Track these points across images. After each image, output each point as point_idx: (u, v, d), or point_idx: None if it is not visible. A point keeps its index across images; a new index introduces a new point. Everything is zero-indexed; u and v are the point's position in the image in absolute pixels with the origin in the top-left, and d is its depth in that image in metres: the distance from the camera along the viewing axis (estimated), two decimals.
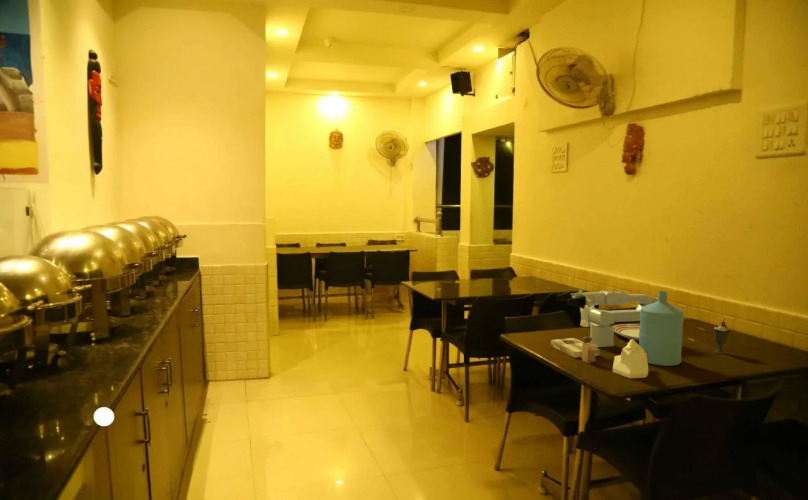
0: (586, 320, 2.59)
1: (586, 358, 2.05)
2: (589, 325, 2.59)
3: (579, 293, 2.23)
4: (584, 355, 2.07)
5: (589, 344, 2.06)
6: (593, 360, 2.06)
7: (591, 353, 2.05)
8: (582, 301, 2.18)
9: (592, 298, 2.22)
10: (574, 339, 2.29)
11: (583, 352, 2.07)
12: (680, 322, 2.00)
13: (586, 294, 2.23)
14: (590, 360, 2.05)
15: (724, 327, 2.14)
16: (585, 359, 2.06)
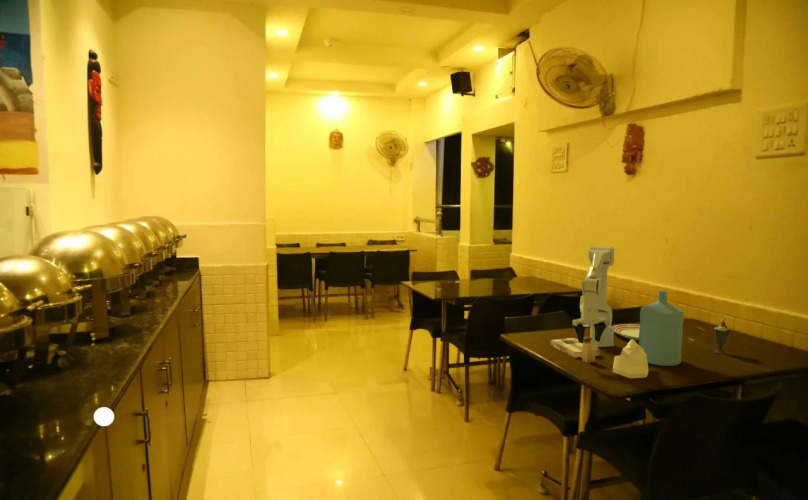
0: None
1: (586, 358, 2.05)
2: (589, 325, 2.59)
3: (593, 322, 2.03)
4: (584, 355, 2.07)
5: (589, 344, 2.06)
6: (593, 360, 2.06)
7: (591, 353, 2.05)
8: None
9: None
10: (574, 339, 2.29)
11: (583, 352, 2.07)
12: (680, 322, 2.00)
13: (597, 316, 2.03)
14: (590, 360, 2.05)
15: (724, 327, 2.14)
16: (585, 359, 2.06)
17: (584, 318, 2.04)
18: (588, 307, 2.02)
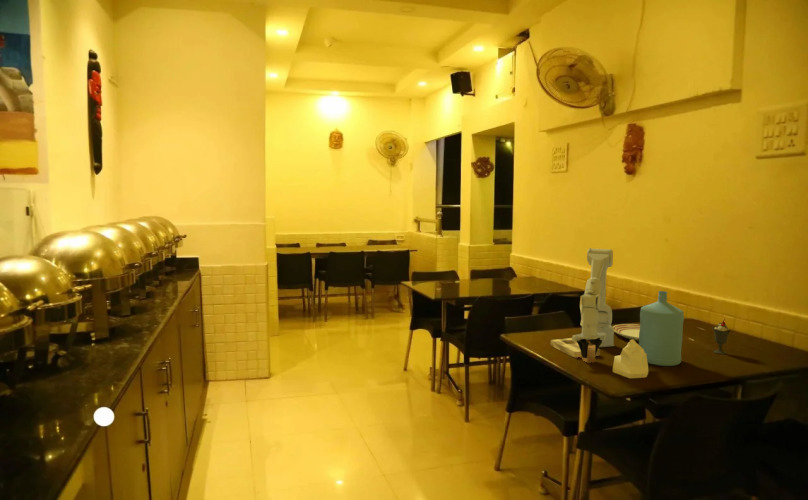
0: None
1: (586, 358, 2.05)
2: None
3: None
4: None
5: (589, 344, 2.06)
6: (593, 360, 2.06)
7: (591, 353, 2.05)
8: None
9: None
10: None
11: None
12: (680, 322, 2.00)
13: (596, 331, 2.04)
14: (590, 360, 2.05)
15: (724, 327, 2.14)
16: (585, 359, 2.06)
17: (583, 334, 2.05)
18: (587, 323, 2.03)
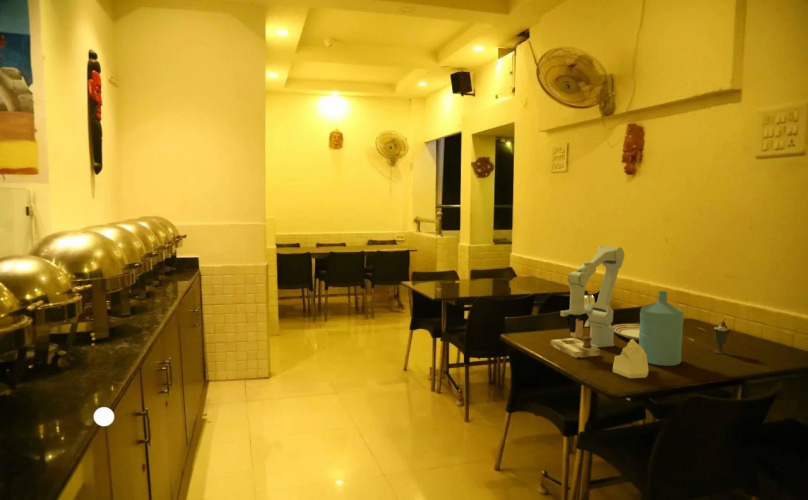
0: None
1: (574, 333, 2.16)
2: (589, 325, 2.59)
3: (580, 313, 2.15)
4: None
5: (577, 320, 2.17)
6: (581, 335, 2.17)
7: (579, 328, 2.16)
8: None
9: None
10: (574, 339, 2.29)
11: None
12: (680, 322, 2.00)
13: (583, 307, 2.15)
14: (578, 335, 2.16)
15: (724, 327, 2.14)
16: (574, 334, 2.17)
17: (571, 309, 2.16)
18: (572, 298, 2.15)
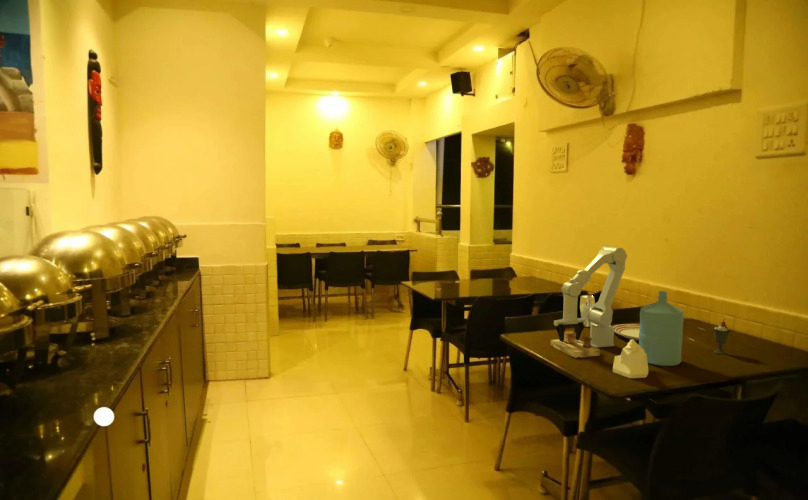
0: (586, 320, 2.59)
1: None
2: (589, 325, 2.59)
3: None
4: (566, 342, 2.24)
5: (570, 332, 2.24)
6: None
7: (572, 340, 2.23)
8: None
9: None
10: None
11: (565, 339, 2.25)
12: (680, 322, 2.00)
13: (576, 317, 2.22)
14: None
15: (724, 327, 2.14)
16: None
17: (564, 319, 2.23)
18: (564, 308, 2.23)
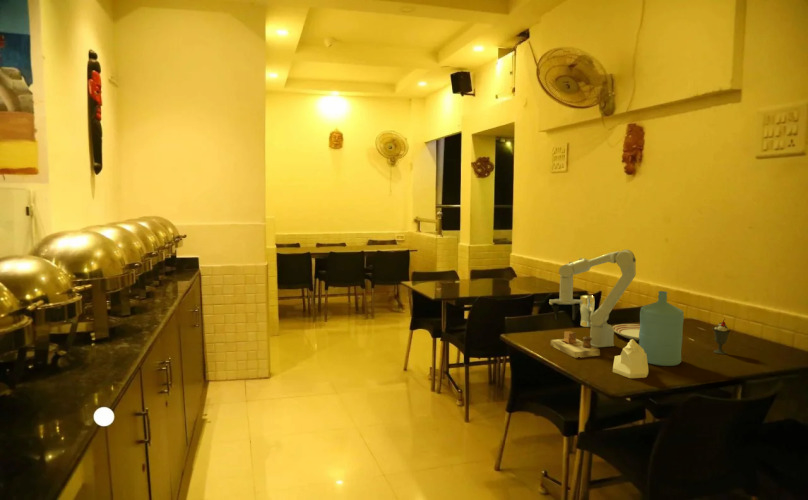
0: (586, 320, 2.59)
1: None
2: (589, 325, 2.59)
3: (567, 302, 2.33)
4: (566, 342, 2.24)
5: (570, 332, 2.24)
6: None
7: (572, 340, 2.23)
8: None
9: (572, 291, 2.34)
10: None
11: (565, 339, 2.25)
12: (680, 322, 2.00)
13: (570, 297, 2.32)
14: None
15: (724, 327, 2.14)
16: None
17: (560, 298, 2.35)
18: None
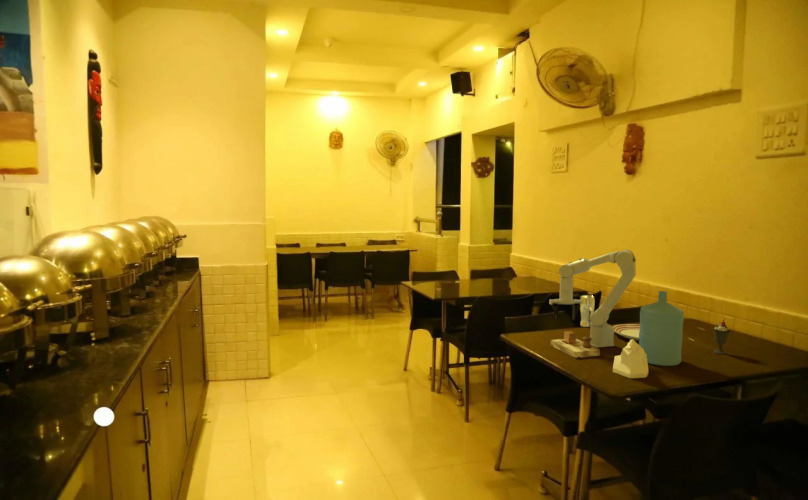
0: (586, 320, 2.59)
1: None
2: (589, 325, 2.59)
3: (567, 302, 2.33)
4: (566, 342, 2.24)
5: (570, 332, 2.24)
6: None
7: (572, 340, 2.23)
8: None
9: (572, 291, 2.34)
10: None
11: (565, 339, 2.25)
12: (680, 322, 2.00)
13: (570, 297, 2.32)
14: None
15: (724, 327, 2.14)
16: None
17: (559, 298, 2.35)
18: None
